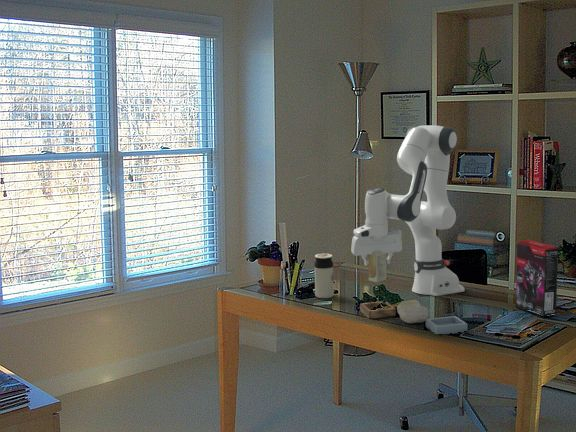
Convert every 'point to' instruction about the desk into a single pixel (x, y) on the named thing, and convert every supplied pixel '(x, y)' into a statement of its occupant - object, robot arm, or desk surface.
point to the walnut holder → (367, 311)
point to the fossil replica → (412, 311)
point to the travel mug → (324, 276)
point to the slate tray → (446, 325)
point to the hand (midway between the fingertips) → (377, 264)
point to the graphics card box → (536, 277)
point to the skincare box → (377, 266)
